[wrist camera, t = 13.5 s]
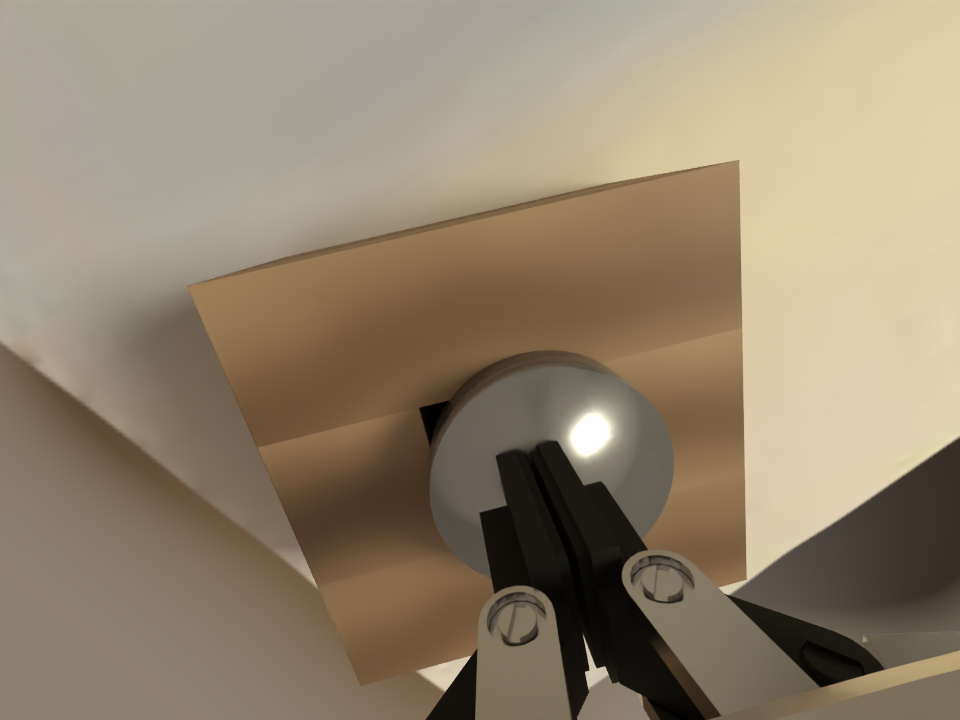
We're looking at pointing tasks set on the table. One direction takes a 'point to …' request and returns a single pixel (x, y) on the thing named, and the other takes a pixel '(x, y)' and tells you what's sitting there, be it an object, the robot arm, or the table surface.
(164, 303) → the table surface
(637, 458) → the grey metal rounded piece
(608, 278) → the socket block
